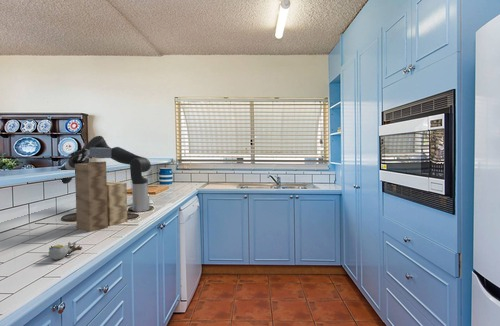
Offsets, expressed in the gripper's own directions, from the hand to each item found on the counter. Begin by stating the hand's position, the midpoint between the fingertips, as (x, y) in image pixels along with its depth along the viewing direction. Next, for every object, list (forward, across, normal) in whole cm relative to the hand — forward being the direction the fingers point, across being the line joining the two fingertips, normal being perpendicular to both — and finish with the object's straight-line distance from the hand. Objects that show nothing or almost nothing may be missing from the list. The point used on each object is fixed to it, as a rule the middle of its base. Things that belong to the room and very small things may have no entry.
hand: (87, 148), depth 171 cm
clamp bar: (+3, 0, -7) cm, 8 cm away
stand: (0, +11, -45) cm, 47 cm away
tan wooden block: (-1, -1, -44) cm, 44 cm away
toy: (+23, +37, -59) cm, 74 cm away
